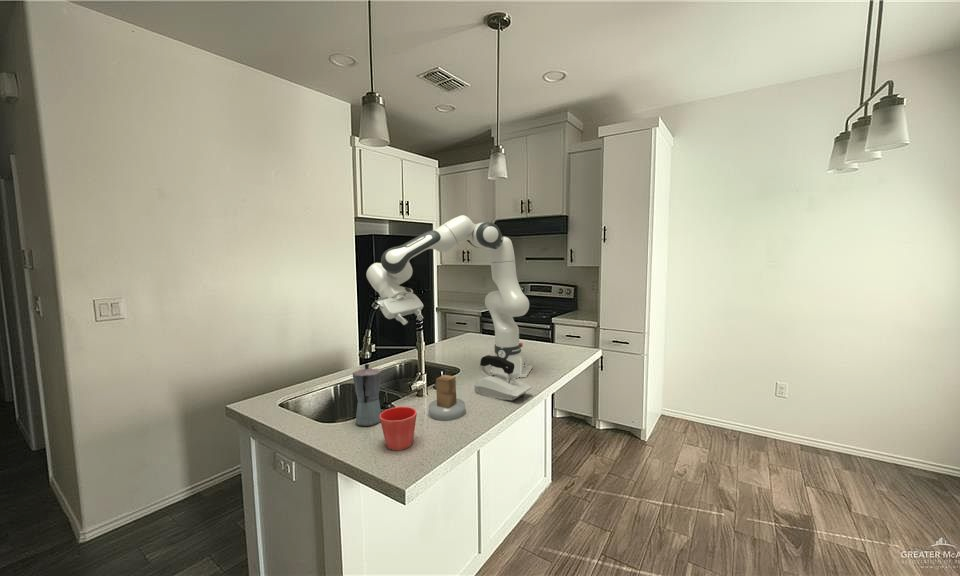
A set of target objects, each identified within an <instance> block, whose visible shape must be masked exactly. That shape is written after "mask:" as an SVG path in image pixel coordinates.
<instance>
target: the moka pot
mask: <svg viewBox="0 0 960 576" xmlns="http://www.w3.org/2000/svg"><path fill="white" fill-rule="evenodd" d="M352 378H353V385H354V391H355V395H356V397H357V398H356V399H357V406H356V415H355V423H356V425H358V426H360V427H361V426H363V427H364V426H365V427H369V426H373V425H376V424H378V423H381V421H380V414H381V413H382V410H381V404H380V399H379V398H380V397H379V393H380V391H381V380H382V379H381V378H382V371H381V370H379V369H378V368H372V367H370V364H368V363H366V364H364V369H359V370H356V371H354V372H352Z"/></svg>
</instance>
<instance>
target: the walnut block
mask: <svg viewBox="0 0 960 576" xmlns="http://www.w3.org/2000/svg"><path fill="white" fill-rule="evenodd" d="M456 379H457V378H456V376H453V375H448V374H443V375H441V376H439V377H437V378H436V379H435V387H436V389H435V391H436V392H435V393H436V400H437V406H439V407H443V408H448V409H449V408H450V407H452V406H454V405H455V404H457V402H456V398H457V381H456Z"/></svg>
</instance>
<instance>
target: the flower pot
mask: <svg viewBox="0 0 960 576" xmlns="http://www.w3.org/2000/svg"><path fill="white" fill-rule="evenodd" d="M417 413H418V411H417V410H416V409H415V408H413V407H410V406H409V407H408V406H396V407H391V408H388V409H385V410H384V411H381V414H380V425H381V429H382V433H383V436H384V437H383V438H384V441H385V445H386V448H387V449H389V450H391V449H392V451H402V450H405V449H407V448H410V447H411V445H413V443H414V442H413V441H414V436H415V435H414V434H415V429H416V422H417Z"/></svg>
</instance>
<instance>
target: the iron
mask: <svg viewBox="0 0 960 576" xmlns="http://www.w3.org/2000/svg"><path fill="white" fill-rule="evenodd" d="M489 365H490V366H491V367H492V366H494V367H497V368H502V369H503V370H504V373H507V374H508V375H506V374H502V373H493V374H492V373H491V374H490V372H488V371H487V370H486V368H485V367H487V366H489ZM514 367H515V365H514V364H513V363H512V362H510V361H508V360H506V359H504V358H502V357H498V356H493V355H490V354H488V355H485V356H482V357H481V359H480V362H479V371H481V374H483V376H485V377H483V378H480V379H478V380H476V382H475V384H474V391H475V393H478V394H479V393H480V394H479V395H481V394H482V395H481V396H485V395H486V396H485V397H489V396H490V397H489V398H493V397H494V398H493V399H497V398H498V399H497V400H502V401H504V400H505V401H514V400H515V399H517V398H519V397H521V396H522V395H524V394H525V393H526V392H528V391H530V390H531V389H532V388H533V386H530V385H528V384H527V383H526V382H523V381H522V380H519V379H518V378H517V376H518V375H521V374H519V373H518V374H517V373H514V374H513V371H514ZM515 374H516V375H515ZM514 376H515V377H514Z"/></svg>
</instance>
